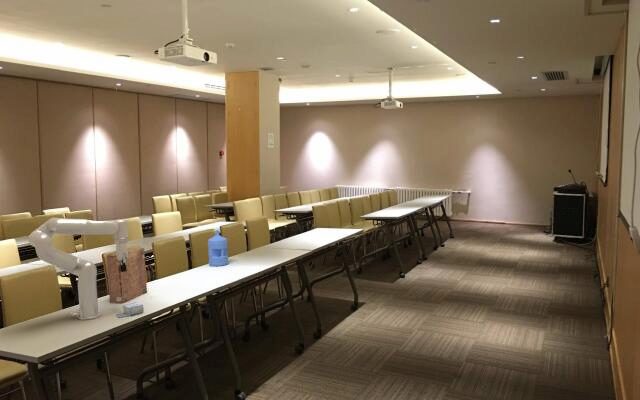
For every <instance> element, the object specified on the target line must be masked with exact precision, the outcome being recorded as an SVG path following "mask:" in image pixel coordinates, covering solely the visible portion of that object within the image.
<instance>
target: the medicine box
mask: <svg viewBox="0 0 640 400" xmlns="http://www.w3.org/2000/svg"><path fill="white" fill-rule="evenodd" d="M122 307H123V309H122V310H123V311H122V313H125V314H129V315H133V316H135V315H134V314H138V313H144V312H145V311H144V304H142V303H138V302H132V303H127V304H124V305H123V306H122Z"/></svg>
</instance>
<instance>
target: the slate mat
mask: <svg viewBox="0 0 640 400" xmlns="http://www.w3.org/2000/svg"><path fill="white" fill-rule="evenodd" d="M141 313H142V312H141ZM141 313H138V314H134V315H129V314H125V313H123V312H120V313H115V316H116V317H117V319H121V318H126V317H127V318H128V317H133V316H139V315H142V314H141Z"/></svg>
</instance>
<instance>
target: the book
mask: <svg viewBox="0 0 640 400" xmlns="http://www.w3.org/2000/svg"><path fill="white" fill-rule="evenodd" d="M127 251H128V259H127V260H126V269H127V271H125V272H121V271H120V261H119V260H118V259H117V258H116V251H115V252H112V253H108V254H106V266H107V267H106V269H107V279H108V281H107V282H108V284H107V285H108V293H109V295H108V296H109V297H108V298H109V303H110V304H112V303H113V304H124V303H127V302H129V301H132V300H134V299H136V298H138V297H141V296H143V295H146V294H147V293H148V290H147V289H148V287H147V285H148V284H147V274H146V273H147V272H146V257H145V255H146V253H145V248H144V247H141V248H133V247H127Z"/></svg>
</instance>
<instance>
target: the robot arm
mask: <svg viewBox="0 0 640 400" xmlns="http://www.w3.org/2000/svg"><path fill="white" fill-rule="evenodd" d="M56 234H57V235H87V236H88V235H94V236H95V235H96V236H97V235H98V236H99V235H100V236H105V235H106V236H113V237H114V244H115V249H116V250H115V252H116V258H117V259H118V260H119V261H120V271H121V272H125V271H127V269H126V260H127V259H128V251H127V249H128V243H129V229H128V220H127V219H123V218H122V219H121V218H120V219H115V220H102V221H101V220H98V221H97V220H90V219H84V218H61V217H51V218H50V219H48V220H47V221H45V222H44V223H42V224H41V225H40V226H39V227H37V228H35V230H33V231H32V232H31V233H30V234H29V236H28V240H27V241H28V244H29V245H30V246H31V247H33V248H35V252H36V255H37V258H39V259H40V260H41V261H43V262H44V263H47V264H48V265H52V266H54V267H55V268H57V269H59V270H62V271H64V272H67V273H69V274H71V275H75V276H77V277H78V280H77V290H78V294H77V295H78V305H79V308H78V310H76V311H71V312H70V316H71V317H72V316H73V317H75V316H76V317H77V319H78V320H83V321H84V320H85V321H86V320H88V321H89V320H93V319H96V318H100V317H101V316H102V312H101V311H99V302H98V301H99V300H98V287H97V276H98V274H97V273H98V270H97V266H96V264H95V263H93V262H92V261H91V260H90V261H89V260H86V259H83V258H81V257H78V256H76V255H74V254H72V253H69V252H67V251H66V252H65V251H62V250H60V249H58V248H56V247H54V246H53V243H52V237H54V236H55V235H56Z"/></svg>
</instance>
